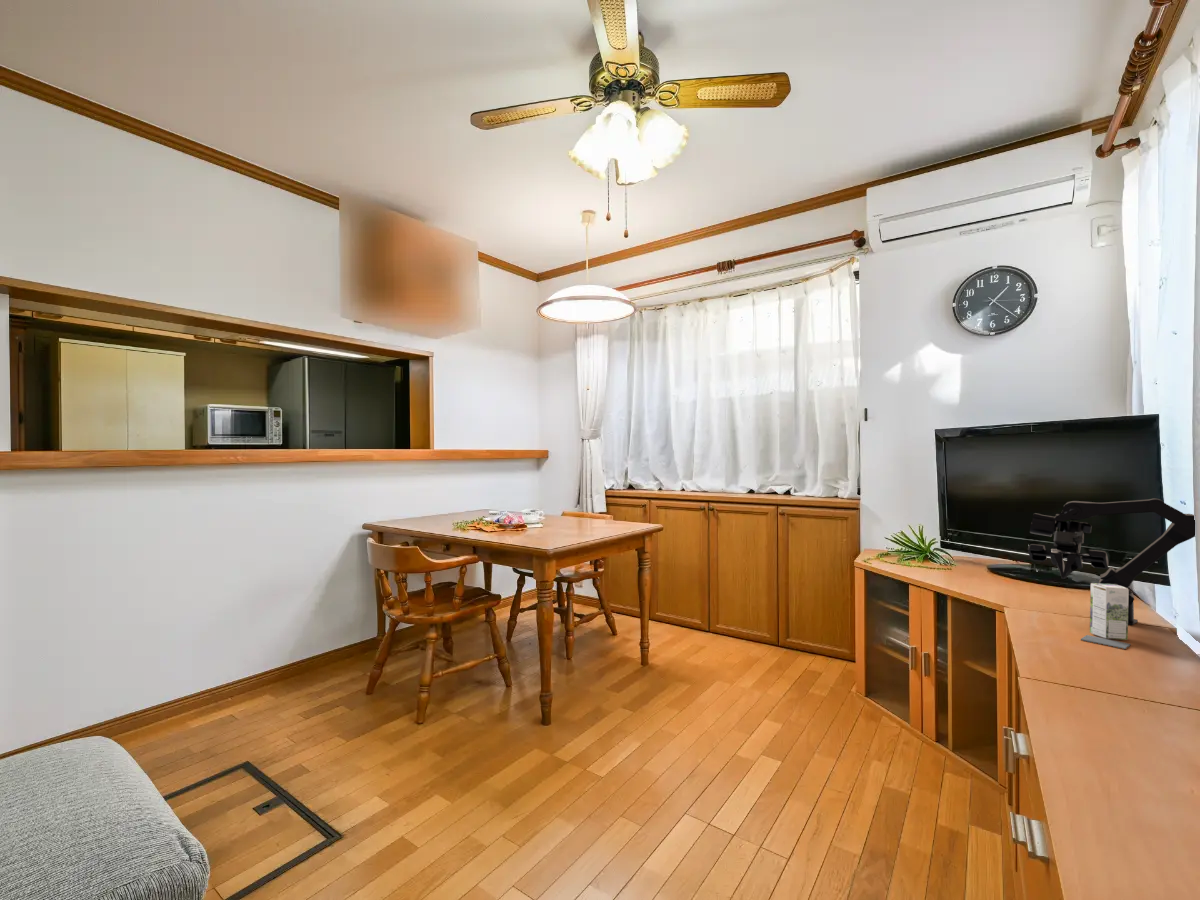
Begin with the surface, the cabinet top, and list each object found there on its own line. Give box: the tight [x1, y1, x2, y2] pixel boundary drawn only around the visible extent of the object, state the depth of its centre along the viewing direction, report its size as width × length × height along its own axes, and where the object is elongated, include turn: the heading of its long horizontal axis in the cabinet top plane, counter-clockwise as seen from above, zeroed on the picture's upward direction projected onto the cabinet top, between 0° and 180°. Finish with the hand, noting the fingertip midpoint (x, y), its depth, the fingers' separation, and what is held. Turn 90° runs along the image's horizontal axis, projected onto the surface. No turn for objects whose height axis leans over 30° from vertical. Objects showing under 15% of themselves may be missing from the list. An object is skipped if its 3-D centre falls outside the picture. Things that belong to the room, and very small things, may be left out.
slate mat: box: [1080, 634, 1132, 650], centre depth 148 cm, size 6×9×1 cm, turn 35°
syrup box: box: [1089, 582, 1130, 641], centre depth 152 cm, size 6×6×14 cm
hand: (1063, 577), depth 166 cm, fingers closed
